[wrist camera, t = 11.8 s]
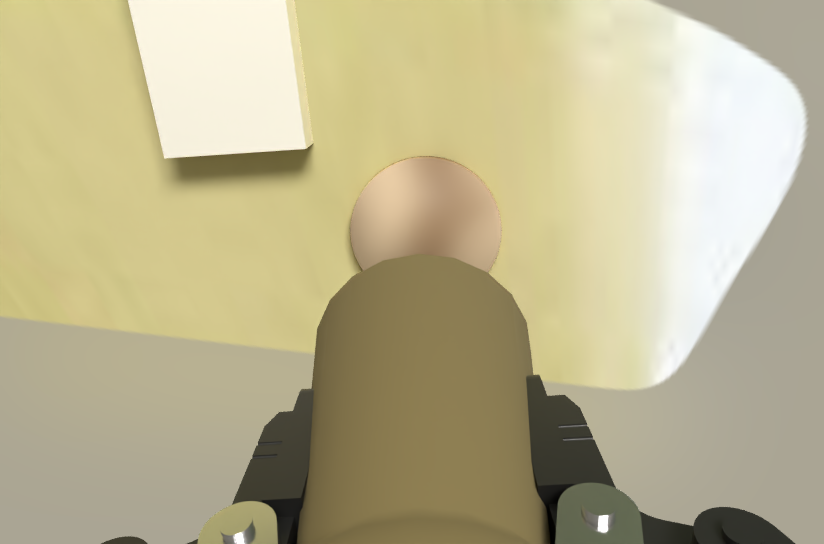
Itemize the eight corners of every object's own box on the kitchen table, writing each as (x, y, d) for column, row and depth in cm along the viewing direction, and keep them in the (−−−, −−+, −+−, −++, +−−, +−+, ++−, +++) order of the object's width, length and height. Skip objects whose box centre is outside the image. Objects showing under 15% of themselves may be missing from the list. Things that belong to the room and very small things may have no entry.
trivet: (359, 301, 32) (358, 306, 31) (344, 161, 29) (342, 163, 28) (500, 294, 31) (502, 299, 31) (499, 151, 28) (501, 153, 28)
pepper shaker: (490, 463, 17) (596, 1084, 7) (295, 416, 16) (91, 1012, 6) (563, 287, 15) (879, 807, 5) (341, 227, 14) (142, 664, 4)
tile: (164, 158, 27) (115, -53, 24) (182, 150, 29) (139, -45, 26) (306, 148, 27) (276, -66, 24) (314, 142, 29) (288, -57, 26)
